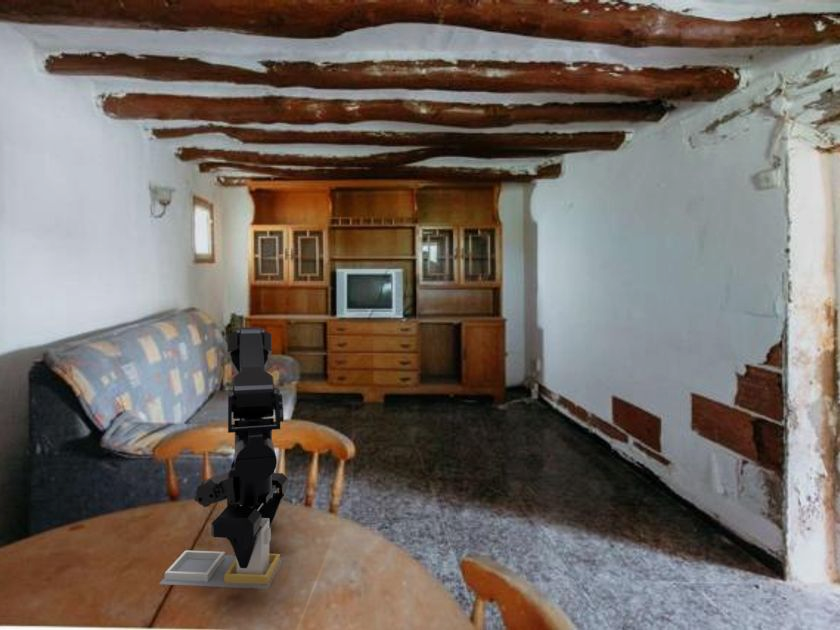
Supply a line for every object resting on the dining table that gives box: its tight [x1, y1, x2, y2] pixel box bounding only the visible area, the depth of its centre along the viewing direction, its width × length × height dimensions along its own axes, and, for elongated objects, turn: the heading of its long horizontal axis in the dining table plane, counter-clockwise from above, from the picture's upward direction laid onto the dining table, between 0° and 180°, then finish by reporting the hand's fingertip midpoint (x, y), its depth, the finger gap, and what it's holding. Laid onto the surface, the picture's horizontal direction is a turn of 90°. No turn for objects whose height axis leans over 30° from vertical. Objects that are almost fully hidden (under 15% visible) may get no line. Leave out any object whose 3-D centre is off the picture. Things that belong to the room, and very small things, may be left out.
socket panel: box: [158, 550, 285, 590], centre depth 86 cm, size 17×9×2 cm, turn 88°
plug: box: [236, 518, 272, 575], centre depth 85 cm, size 5×4×8 cm
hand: (253, 553), depth 85 cm, fingers open, 8 cm apart
